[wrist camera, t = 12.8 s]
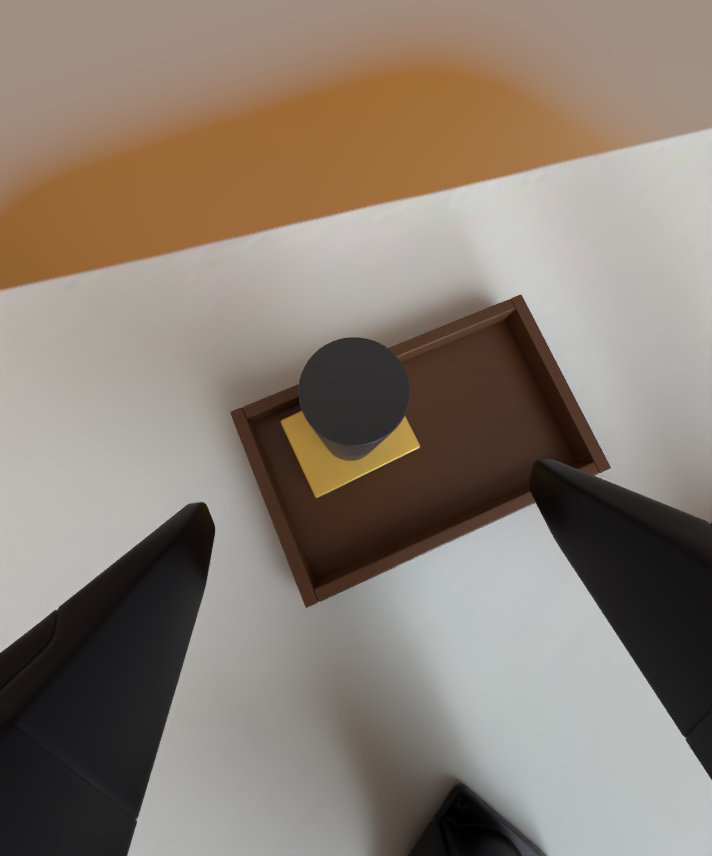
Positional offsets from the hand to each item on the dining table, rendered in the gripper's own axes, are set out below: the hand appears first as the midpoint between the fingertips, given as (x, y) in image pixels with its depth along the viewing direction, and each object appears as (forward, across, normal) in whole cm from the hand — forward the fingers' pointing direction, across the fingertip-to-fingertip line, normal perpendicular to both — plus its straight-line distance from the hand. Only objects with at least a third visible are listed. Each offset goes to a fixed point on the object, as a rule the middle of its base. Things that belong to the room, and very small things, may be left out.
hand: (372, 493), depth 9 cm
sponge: (+10, 0, +4) cm, 11 cm away
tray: (+10, -3, +5) cm, 12 cm away
